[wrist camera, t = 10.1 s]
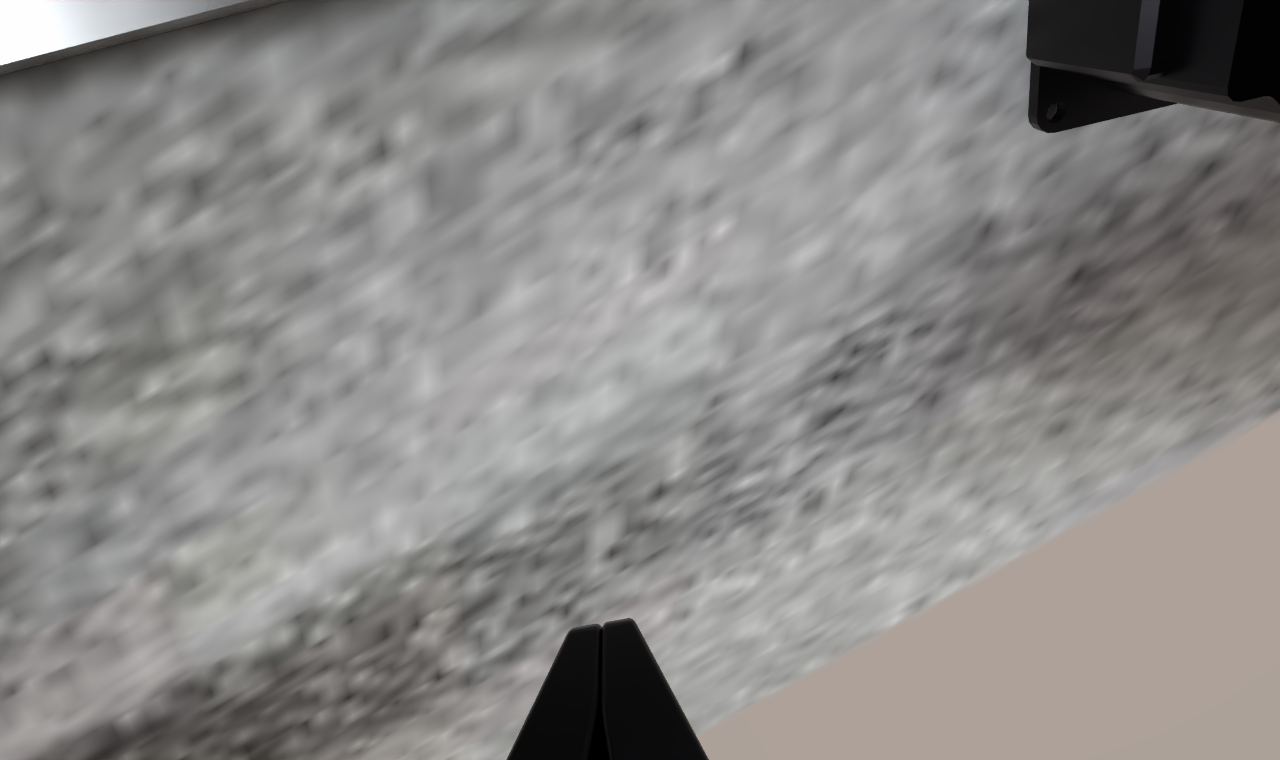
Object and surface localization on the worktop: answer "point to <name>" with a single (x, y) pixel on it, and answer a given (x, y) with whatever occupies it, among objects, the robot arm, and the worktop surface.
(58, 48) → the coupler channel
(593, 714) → the robot arm
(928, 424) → the worktop surface
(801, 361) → the worktop surface
